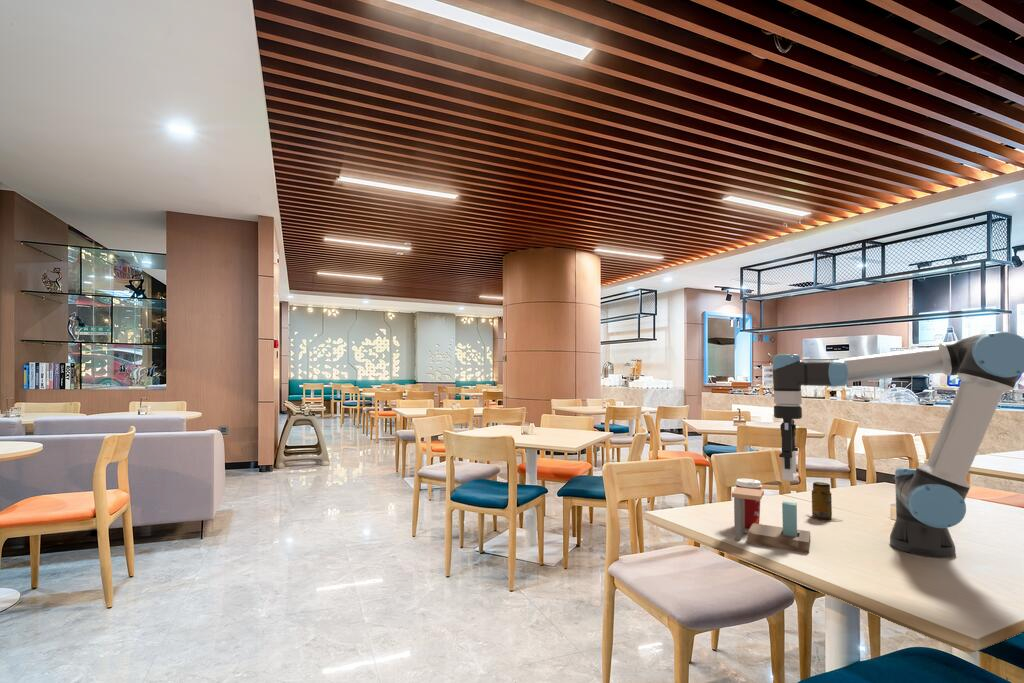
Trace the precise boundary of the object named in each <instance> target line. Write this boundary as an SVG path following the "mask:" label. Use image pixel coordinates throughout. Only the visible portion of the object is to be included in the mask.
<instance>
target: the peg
mask: <svg viewBox="0 0 1024 683" xmlns="http://www.w3.org/2000/svg"><path fill="white" fill-rule="evenodd" d="M781 504H782V505H781V509H782V512H781V513H782V514H781V515H782V527H783V535H787V536H794V537H797V530H798V507H797V506H798V504H797V502H794V501H792V502H791V501H784V500H783V501H782V503H781Z"/></svg>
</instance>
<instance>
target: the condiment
mask: <svg viewBox="0 0 1024 683" xmlns="http://www.w3.org/2000/svg"><path fill="white" fill-rule="evenodd" d="M832 502H833V500H832V492H831V484H830V483H827V482H824V481H823V482H821V481H814V482H812V490H811V513H812V514H806V516H807V517H810V518H812V519H817V520H819V521H822V522H826V523H827V522H841V521H843V520H841V519H838V518H836V517H833V513H832V512H833V510H832V509H833V508H832Z"/></svg>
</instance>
